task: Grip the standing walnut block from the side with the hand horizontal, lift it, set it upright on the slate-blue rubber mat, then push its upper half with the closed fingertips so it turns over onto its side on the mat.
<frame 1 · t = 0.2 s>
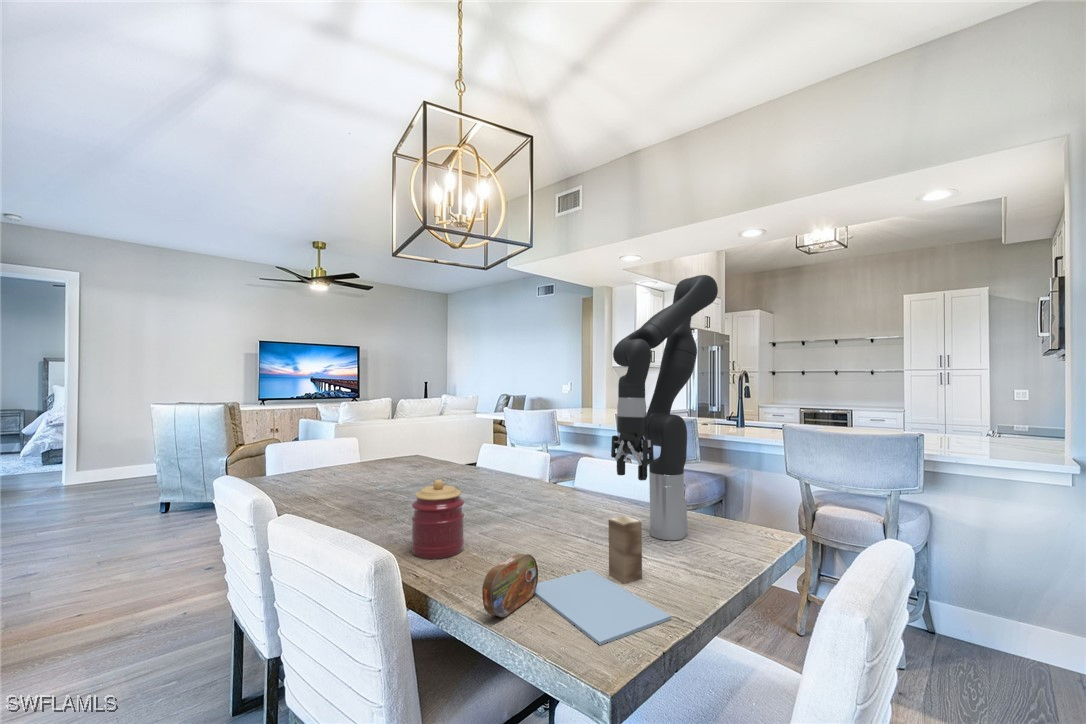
hand: (631, 477, 122), 17 cm above the table, tool pointing down, fingers open, 8 cm apart
mat: (594, 603, 89), on the table
canister: (437, 551, 117), on the table
walnut block: (625, 577, 101), on the table
tin: (512, 607, 88), on the table, touching mat
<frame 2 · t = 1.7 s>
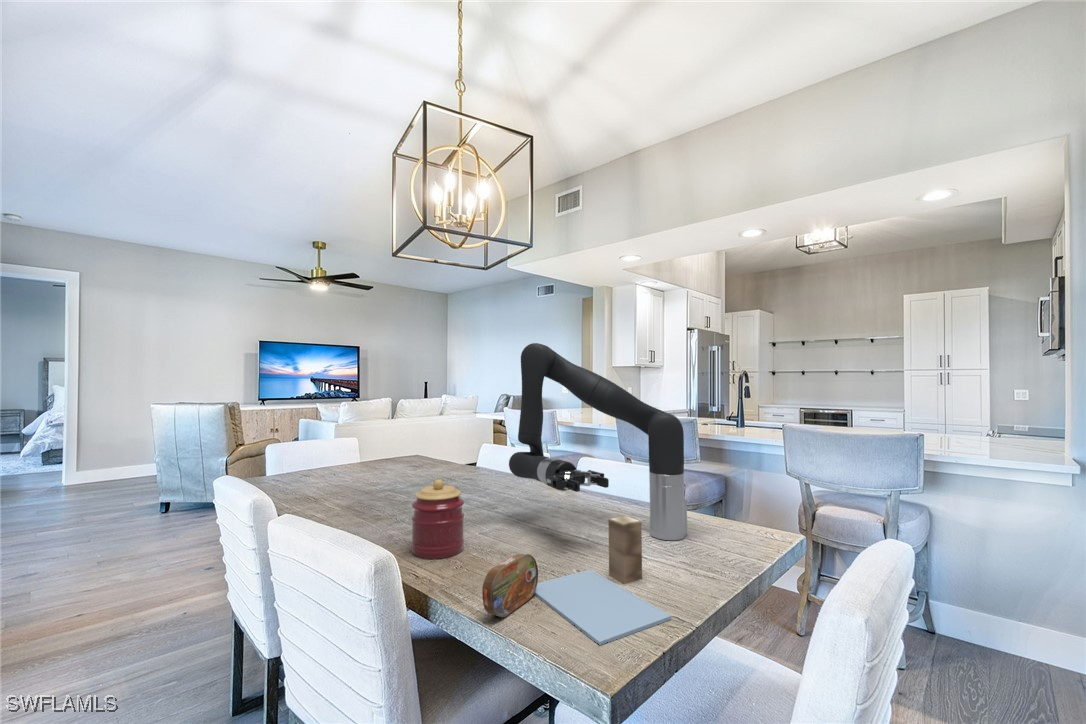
hand: (593, 485, 111), 18 cm above the table, tool horizontal, fingers open, 8 cm apart
nothing on the table moved.
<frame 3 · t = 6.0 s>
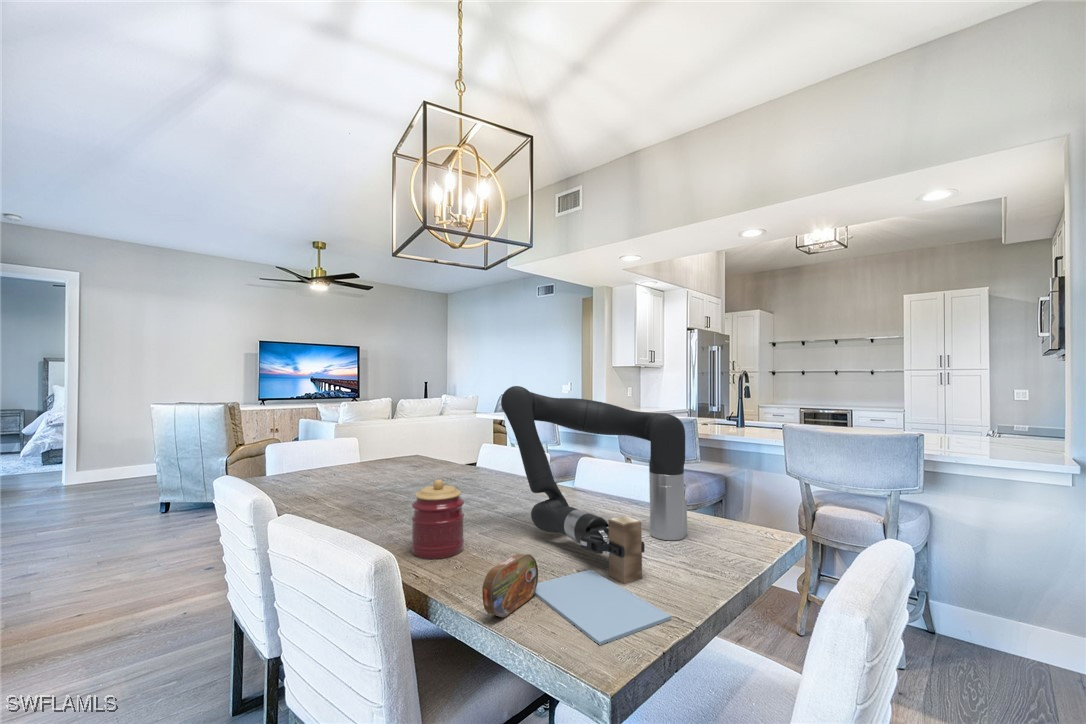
hand: (633, 550, 99), 7 cm above the table, tool horizontal, fingers closed on walnut block, 5 cm apart
walnut block: (625, 577, 101), on the table, touching gripper
everything else where it was.
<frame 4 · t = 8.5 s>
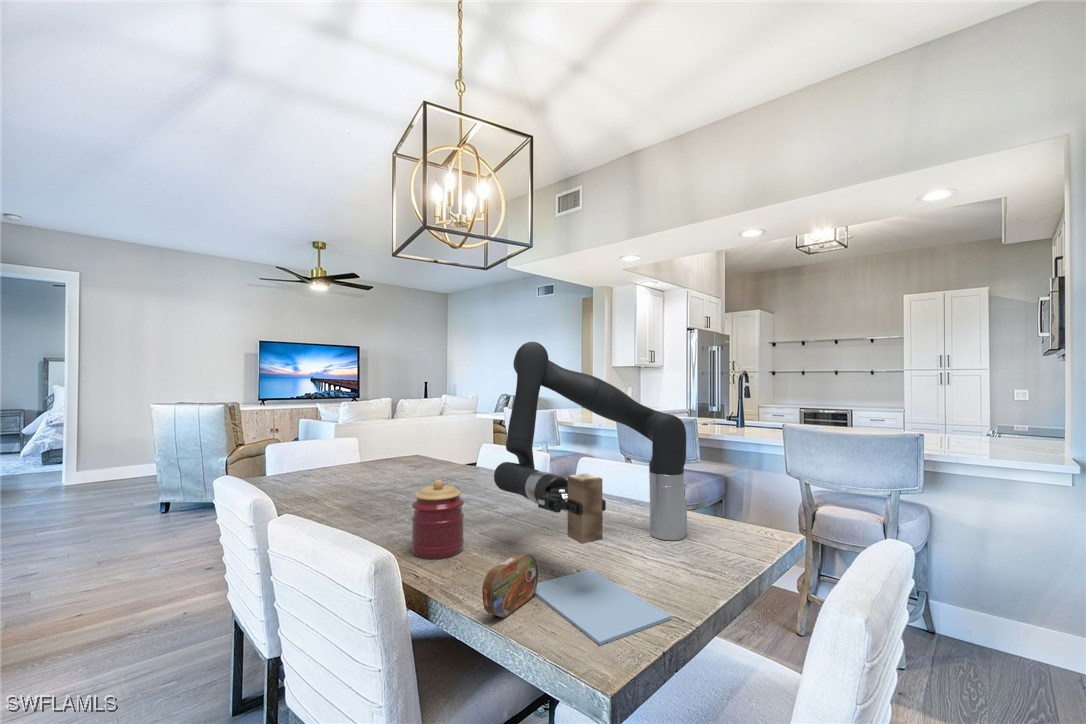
hand: (592, 507, 91), 17 cm above the table, tool horizontal, fingers closed on walnut block, 5 cm apart
walnut block: (584, 537, 93), point 11 cm above the table, touching gripper
everything else where it was.
when the fingers open (8 cm above the table, at t = 11.0 s): walnut block stays where it is, resting on mat.
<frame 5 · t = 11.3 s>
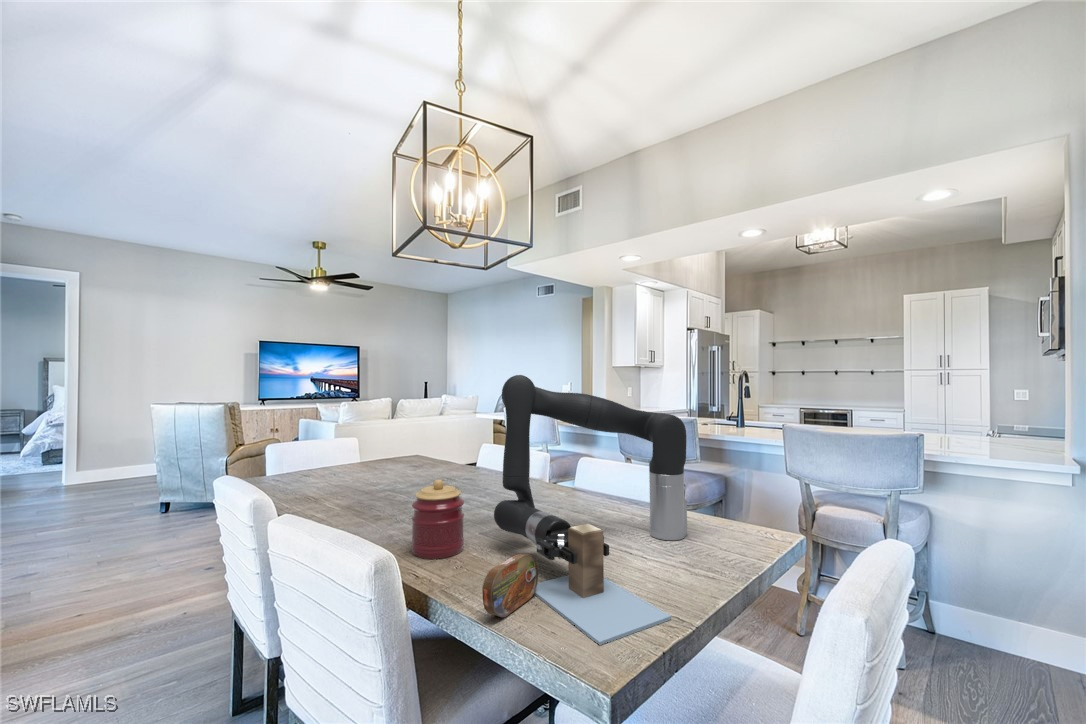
hand: (592, 554, 91), 8 cm above the table, tool horizontal, fingers open, 7 cm apart
walnut block: (586, 590, 93), point 1 cm above the table, touching mat
everything else where it was.
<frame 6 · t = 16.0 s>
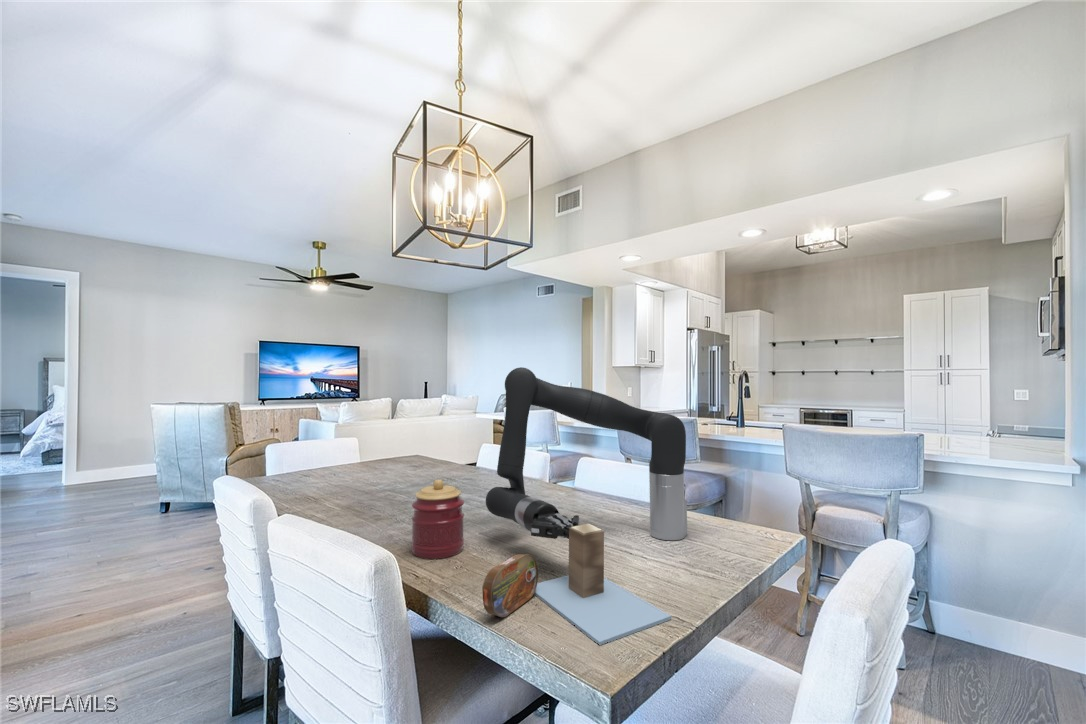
hand: (578, 536, 95), 11 cm above the table, tool horizontal, fingers closed
walnut block: (586, 590, 93), point 1 cm above the table, touching gripper, mat
everything else where it was.
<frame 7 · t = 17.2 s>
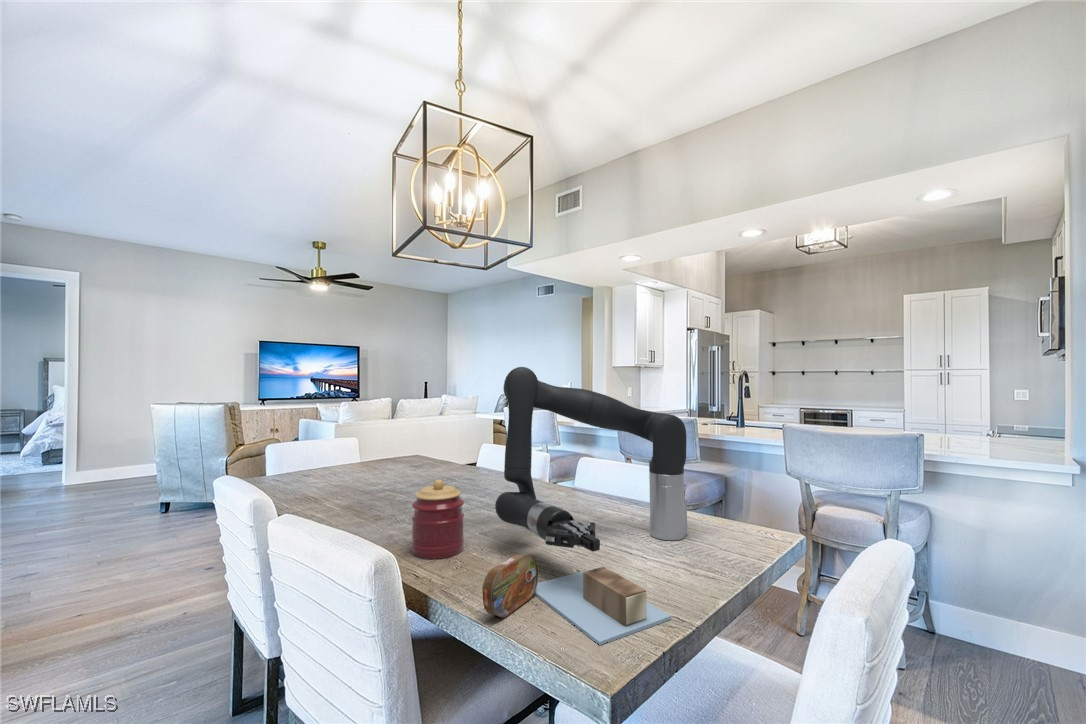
hand: (596, 545, 90), 11 cm above the table, tool horizontal, fingers closed
walnut block: (593, 582, 91), point 3 cm above the table, tilted 90°, touching mat
everything else where it was.
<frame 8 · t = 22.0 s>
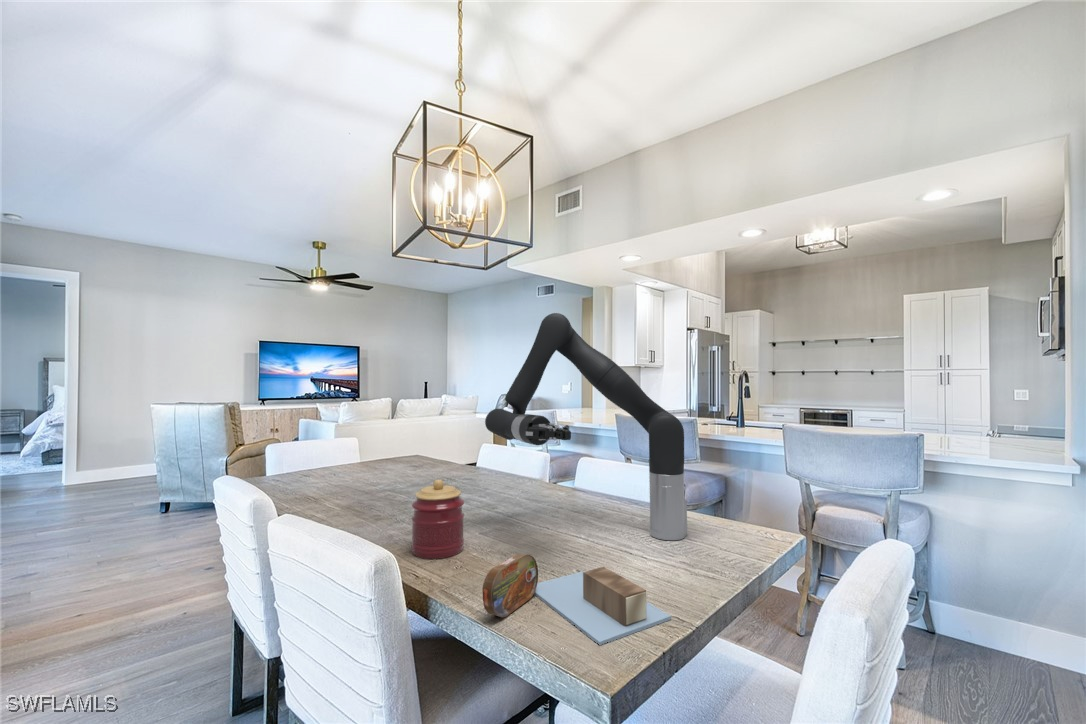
hand: (568, 435, 107), 30 cm above the table, tool horizontal, fingers closed
nothing on the table moved.
at the end: walnut block tilted 90°; walnut block inside the target area (2.3 cm from its centre), point 3.1 cm above the table; the gripper is holding nothing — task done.
